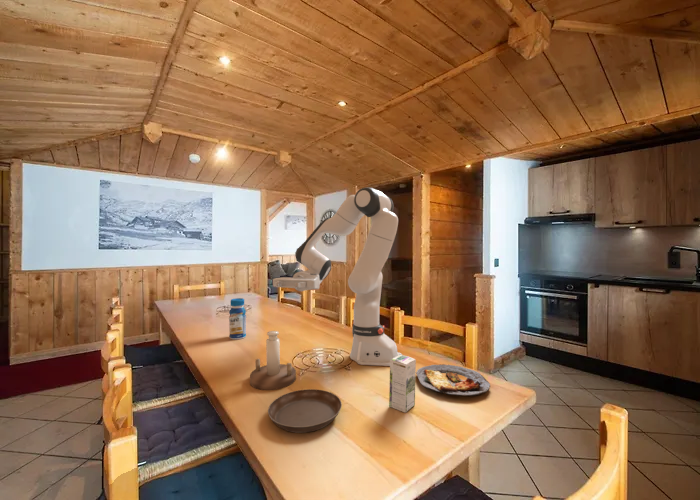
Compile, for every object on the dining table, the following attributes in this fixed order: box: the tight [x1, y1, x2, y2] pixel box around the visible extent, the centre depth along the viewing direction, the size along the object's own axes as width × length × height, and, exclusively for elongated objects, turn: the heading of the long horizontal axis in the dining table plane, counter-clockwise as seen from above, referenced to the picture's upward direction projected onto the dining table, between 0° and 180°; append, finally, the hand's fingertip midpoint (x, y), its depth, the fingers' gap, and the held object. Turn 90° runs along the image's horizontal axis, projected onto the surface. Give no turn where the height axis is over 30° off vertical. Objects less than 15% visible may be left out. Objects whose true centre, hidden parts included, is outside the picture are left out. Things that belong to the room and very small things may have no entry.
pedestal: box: [249, 358, 297, 391], centre depth 112 cm, size 16×16×6 cm
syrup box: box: [388, 354, 417, 414], centre depth 94 cm, size 6×6×14 cm
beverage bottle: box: [228, 297, 247, 341], centre depth 162 cm, size 8×8×20 cm
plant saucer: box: [267, 388, 343, 434], centre depth 89 cm, size 21×21×3 cm
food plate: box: [415, 363, 491, 397], centre depth 109 cm, size 25×23×4 cm
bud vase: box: [265, 330, 281, 375], centre depth 112 cm, size 5×5×15 cm
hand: (286, 285), depth 129 cm, fingers open, 8 cm apart
